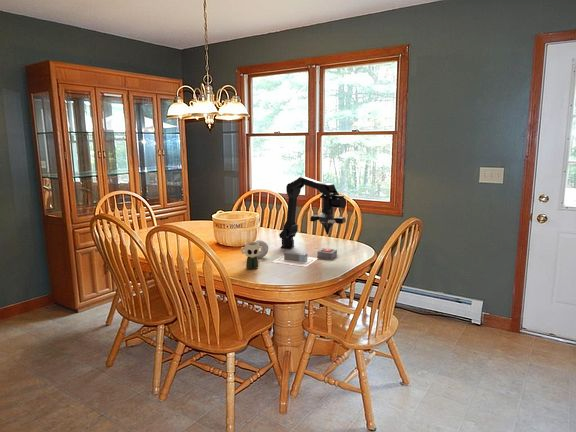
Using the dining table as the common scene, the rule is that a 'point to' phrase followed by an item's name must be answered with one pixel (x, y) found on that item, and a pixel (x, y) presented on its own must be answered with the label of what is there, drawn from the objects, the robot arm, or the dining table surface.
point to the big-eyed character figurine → (252, 254)
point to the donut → (265, 248)
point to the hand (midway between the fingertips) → (327, 234)
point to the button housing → (326, 254)
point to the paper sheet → (289, 262)
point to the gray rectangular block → (295, 256)
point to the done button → (327, 250)
